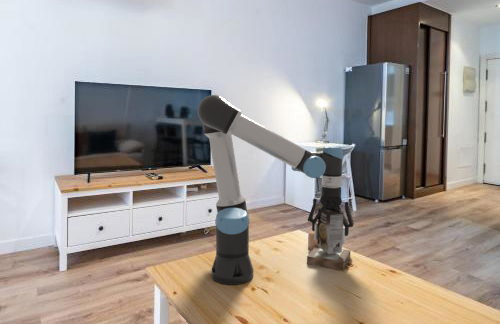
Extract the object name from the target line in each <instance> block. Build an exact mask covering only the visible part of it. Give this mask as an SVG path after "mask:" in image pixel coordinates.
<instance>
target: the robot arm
mask: <svg viewBox="0 0 500 324" xmlns="http://www.w3.org/2000/svg"><path fill="white" fill-rule="evenodd" d="M197 116H198V118H199V120H200V122H201V123H202V129H203V133H204V134H203V135H204V136H205V137H206V138H208V139H209V144H210V145H209V146H210V151H211V152H210V153H211V159H212V164H213V169H214V176H215V182H216V188H217V194H218V195H217V196H218V200H217V201H216V202H215V206H216V216H215V219H214V220H215V243H216V244H215V249H216V250H215V258H214V261H213V264H212V267H211V273H210V274H211V279H212V280H213V281H215V282H216V283H218V284H223V285H232V286H233V285H241V284H244V283H248V282H250V281H251V280H252V279H253V277H254V266H253V263H252V261H251V258H250V255H249V254H250V253H249V250H250V246H249V245H250V237H249V236H250V231H249V230H250V229H249V228H250V226H249V225H250V217H249V216H250V215H249V212H248V208H247V202H246V198H245V197H244V196H242V195H241V193H242V192H241V188H240V181H239V176H238V169H237V163H236V157H235V150H234V149H235V148H234V143H233V137H232V135H233V136H235V137H236V138H238V139H241V140H242V141H243V142H246V143H248V144H249V145H251V146H253V147H255V148H257V149H258V150H261V151H263V152H264V153H266V154H268V155H269V156H271V157H274V158H275V159H277V160H278V161H281V162H283V163H284V164H286V165H288V166H289V167H291V170H292V171H293V172H299V173H300V172H301V173H303V174H305V176H306V177H309V178H311V179H318V178H321V185H322V186H321V195H320V196H321V197H320V198H319V197H316V196H315V197H314V198H313V199H312V206H311V209H310V212H309V214H308V217H307V222H310V223H311V225H312V226H311V231H314V240H317V239H318V218H319V217H320V215H321V213H322V211H323V210H324V209H326V210H335V211H336V212H343V211H342V209H341V207H340V206H341V204H342V206H343V207H344V211H345V214H346V216H345V215H344V216H343V234H342V246H343V245H344V246H345V244H346V242H347V241H346V240H347V239H346V238H347V237H348V236H349V234H350V233H349V232H350V231H349V228H353V227H354V225H355V222H354V219H353V215H352V212H351V209H350V201H349V200H342V187H341V186H342V185H343V176H342V175H343V173H342V172H343V148H342V147H340V146H334V145H332V146H331V145H330V146H323V147H322V151H309V150H306V149H305V148H304V147H302V146H300V145H298V144H296V143H294V142H293V141H291V140H289V139H288V138H285V137H284V136H281V135H280V134H278V133H276V132H274V131H273V130H271V129H270V128H267V127H266V126H264V125H262V124H260V123H258V122H257V121H254V120H252V119H251V118H249V117H247V116H245V115H243V114H242V111H241V110H240V109H239V108H237V107H235V106H234V105H232V104H231V103H230V102H229V101H228V100H227V99H226V98H225V97H222V96H220V95H217V94H212V95H207V96H206V97H204V98H203V99H201V101H200V103H199V104H198V108H197ZM320 203H321V205H322V206H321V207H320V208H321V209H320V211H319V212H318V211H317V214H316V215H315V212H316V209H317V207H318V204H320ZM314 215H315V216H314ZM346 217H347V218H346Z"/></svg>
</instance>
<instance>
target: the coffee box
mask: <svg viewBox="0 0 500 324" xmlns="http://www.w3.org/2000/svg"><path fill="white" fill-rule="evenodd" d="M321 208H322V207H318V210H317V213H318V212H319V211H320V209H321ZM343 216H345V213H344V212H343V211H342V212H336V211H335V210H326V209H324V210H323V211H322V213H321V215H320V217H319V218H318V220H317V223H318V244H317V246H318V247H319V248H321V249H322V250H324V251H325V252H326V253H328V254H333V253H341V252H342V249H343V244H342V234H343V227H344V225H343Z"/></svg>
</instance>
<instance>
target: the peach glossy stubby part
mask: <svg viewBox="0 0 500 324" xmlns="http://www.w3.org/2000/svg"><path fill="white" fill-rule="evenodd" d="M307 234H308V235H307V249H308V250H310V251H312V250H313V249H314V248H315V246H316V245H317V244H318V239H317V240H314V231H312V230H309V231H308V232H307Z"/></svg>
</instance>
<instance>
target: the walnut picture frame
mask: <svg viewBox="0 0 500 324" xmlns="http://www.w3.org/2000/svg"><path fill="white" fill-rule="evenodd" d="M350 259H351V250H350V249H345V248H342V252H341V253H333V254H328V253H326V252H325V251H324V250H322V249H321V248H319V247H318V246H317V245H316V246H315V248H314V249H313V250H310V253H308V255H307V256H306V264H307V265H312V266H318V267H322V268H328V269H333V270H337V271H344V270H345V268H346V266H347V264H348V263H349V261H350Z"/></svg>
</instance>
